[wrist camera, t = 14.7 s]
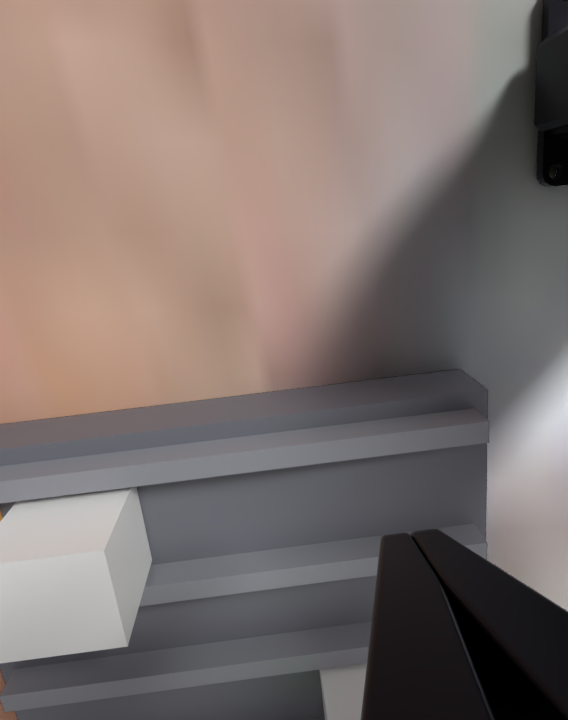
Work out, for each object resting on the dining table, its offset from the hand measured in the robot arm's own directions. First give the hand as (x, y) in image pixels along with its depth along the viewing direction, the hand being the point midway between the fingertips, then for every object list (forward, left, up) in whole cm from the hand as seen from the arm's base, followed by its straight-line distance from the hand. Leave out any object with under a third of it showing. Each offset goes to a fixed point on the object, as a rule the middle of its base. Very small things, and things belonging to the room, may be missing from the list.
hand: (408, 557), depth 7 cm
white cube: (+9, +6, -10) cm, 15 cm away
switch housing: (+4, +10, -13) cm, 17 cm away
